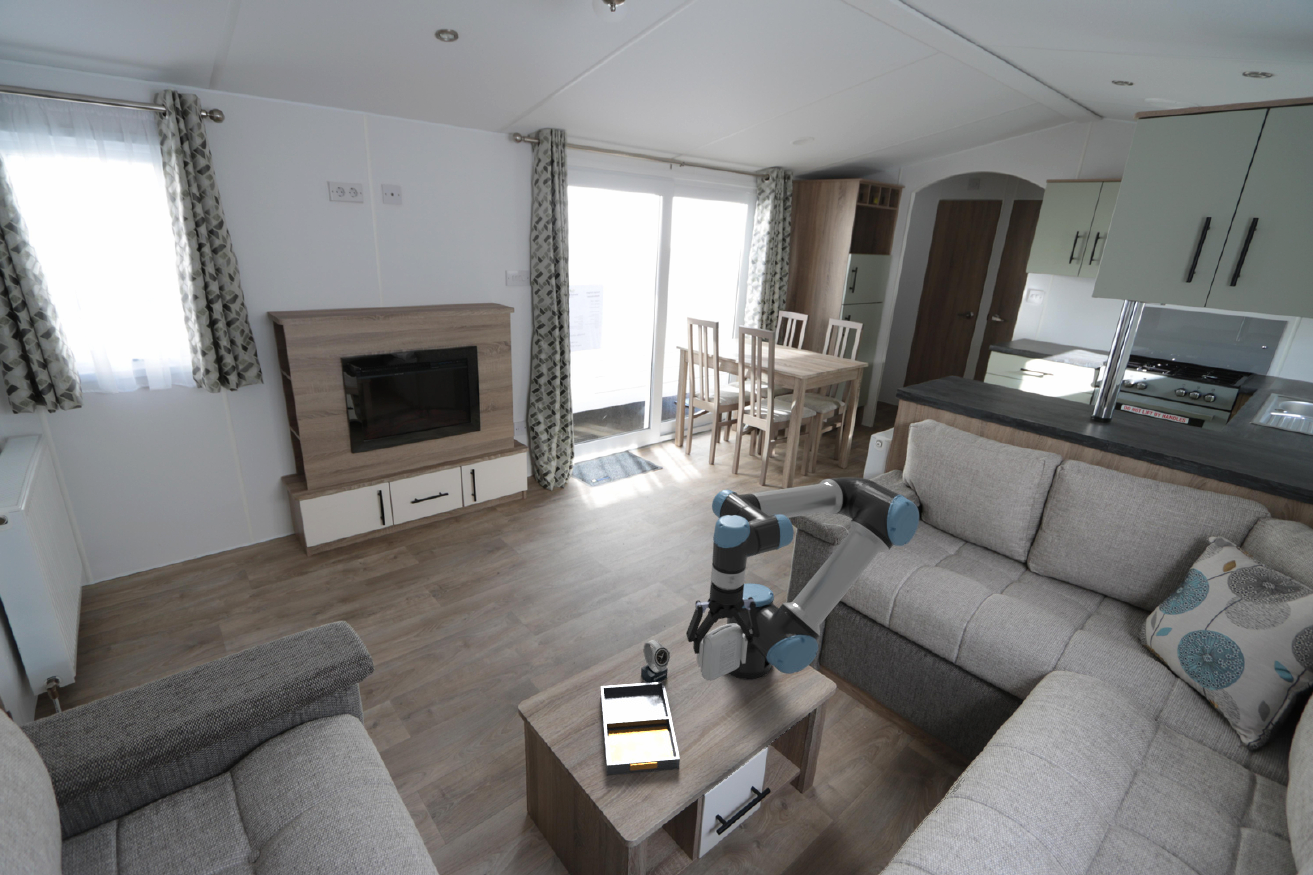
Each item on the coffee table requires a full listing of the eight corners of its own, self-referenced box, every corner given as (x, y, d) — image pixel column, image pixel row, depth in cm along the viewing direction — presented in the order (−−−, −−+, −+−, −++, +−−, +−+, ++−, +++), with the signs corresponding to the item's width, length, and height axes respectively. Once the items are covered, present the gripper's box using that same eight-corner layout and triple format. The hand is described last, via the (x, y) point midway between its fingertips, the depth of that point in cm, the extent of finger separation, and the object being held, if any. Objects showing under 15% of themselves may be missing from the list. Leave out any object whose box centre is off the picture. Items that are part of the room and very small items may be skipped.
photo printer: (730, 657, 151) (734, 615, 147) (742, 667, 148) (746, 625, 143) (697, 672, 146) (700, 630, 141) (708, 684, 142) (711, 640, 138)
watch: (655, 690, 159) (656, 656, 155) (637, 672, 165) (638, 639, 161) (671, 682, 162) (673, 648, 158) (653, 664, 168) (655, 631, 164)
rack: (663, 690, 159) (663, 681, 158) (679, 769, 137) (680, 759, 136) (600, 695, 157) (600, 686, 156) (607, 776, 134) (607, 766, 133)
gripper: (681, 594, 133) (677, 675, 141) (780, 588, 136) (771, 668, 144) (675, 574, 140) (671, 653, 148) (770, 569, 143) (761, 647, 151)
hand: (720, 661), depth 146 cm, fingers closed on photo printer, 10 cm apart
